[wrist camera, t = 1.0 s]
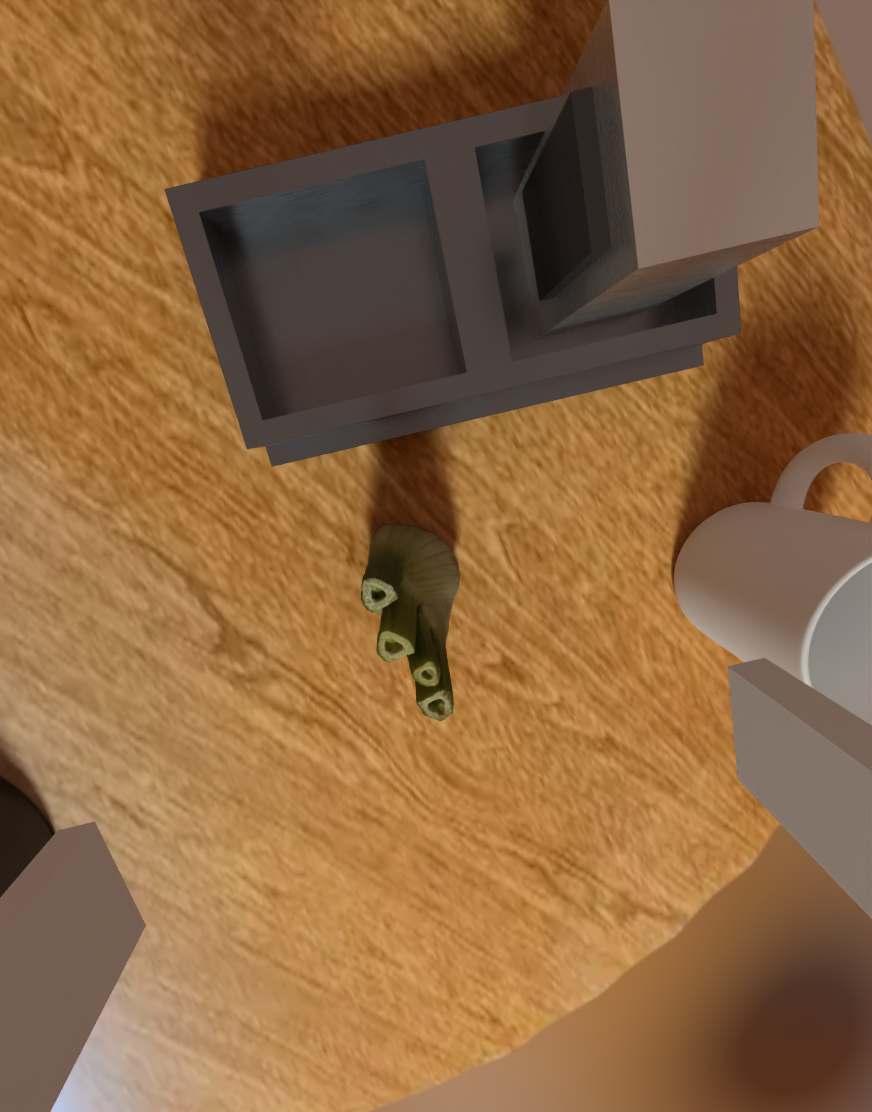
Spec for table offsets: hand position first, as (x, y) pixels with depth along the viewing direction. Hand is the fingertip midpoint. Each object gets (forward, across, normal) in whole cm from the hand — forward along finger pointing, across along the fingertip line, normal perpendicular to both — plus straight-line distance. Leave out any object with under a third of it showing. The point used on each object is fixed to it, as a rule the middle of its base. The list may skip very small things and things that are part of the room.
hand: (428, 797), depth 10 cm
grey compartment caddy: (+18, +6, +13) cm, 23 cm away
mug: (+18, +19, -3) cm, 27 cm away
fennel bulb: (+19, 0, 0) cm, 19 cm away
